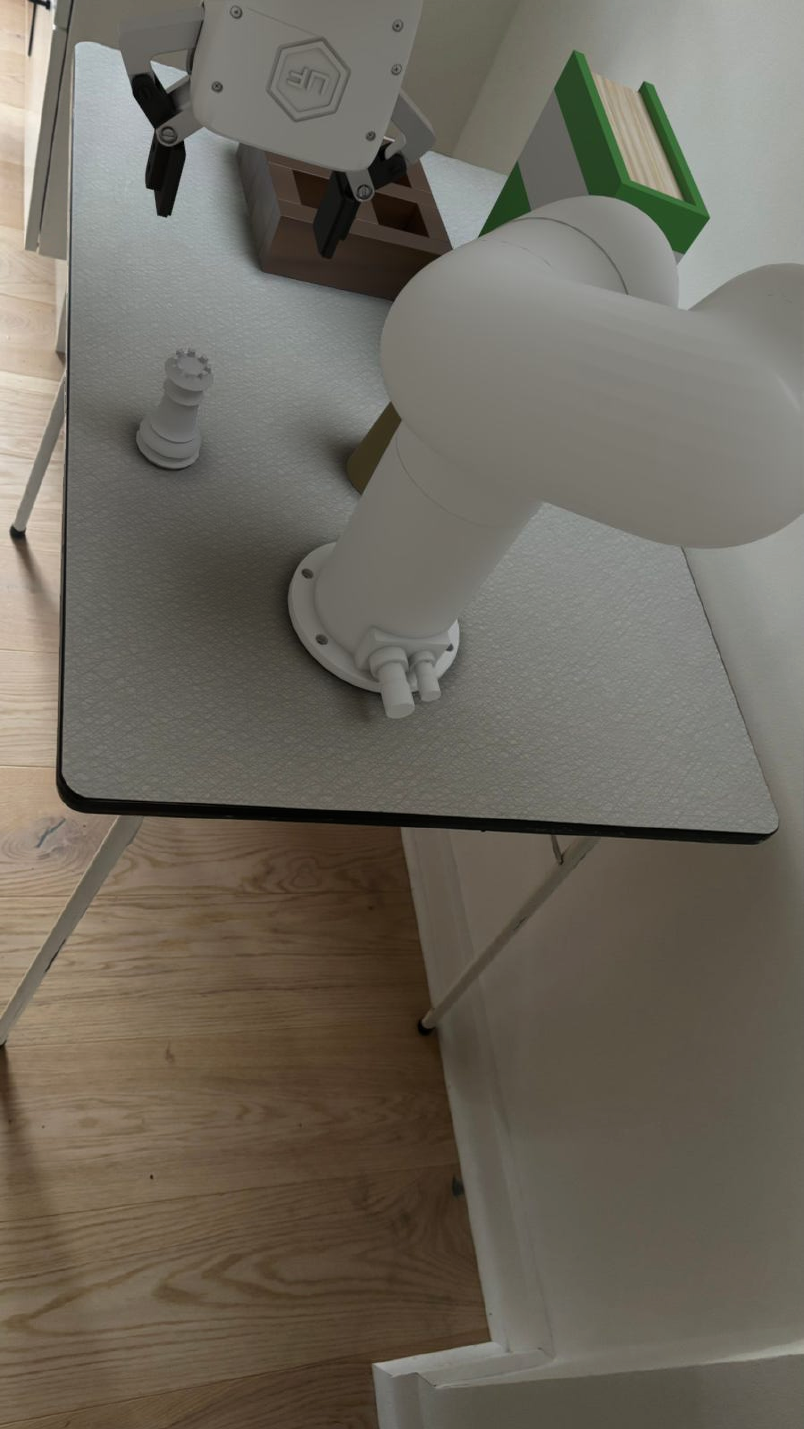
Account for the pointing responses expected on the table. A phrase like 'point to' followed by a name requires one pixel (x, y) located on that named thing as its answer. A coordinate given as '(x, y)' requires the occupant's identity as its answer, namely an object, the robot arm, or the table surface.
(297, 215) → the divided compartment box
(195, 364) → the rook chess piece
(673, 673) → the table surface
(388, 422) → the olive flared vase
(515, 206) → the hardback book
